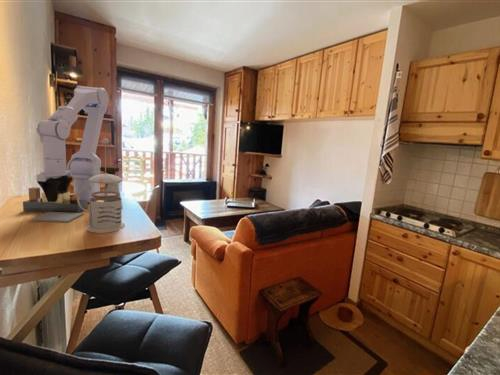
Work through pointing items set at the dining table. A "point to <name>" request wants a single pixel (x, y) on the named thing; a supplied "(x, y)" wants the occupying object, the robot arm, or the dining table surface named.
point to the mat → (57, 217)
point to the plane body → (39, 206)
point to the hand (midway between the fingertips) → (56, 199)
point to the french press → (104, 204)
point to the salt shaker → (115, 188)
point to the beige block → (59, 197)
